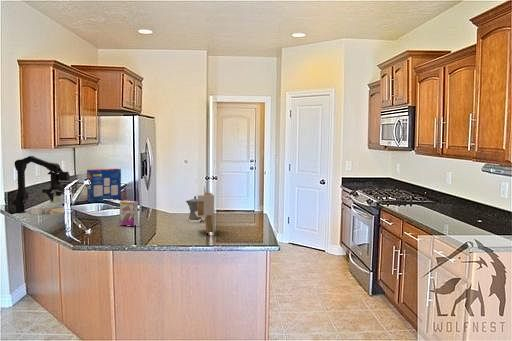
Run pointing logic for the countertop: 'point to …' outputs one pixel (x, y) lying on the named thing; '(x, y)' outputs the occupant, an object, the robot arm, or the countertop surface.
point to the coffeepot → (193, 208)
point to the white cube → (36, 210)
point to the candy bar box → (128, 213)
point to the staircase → (206, 210)
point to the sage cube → (55, 199)
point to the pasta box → (104, 184)
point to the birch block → (54, 210)
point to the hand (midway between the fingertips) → (55, 201)
